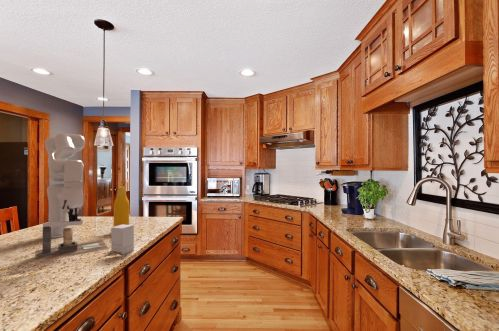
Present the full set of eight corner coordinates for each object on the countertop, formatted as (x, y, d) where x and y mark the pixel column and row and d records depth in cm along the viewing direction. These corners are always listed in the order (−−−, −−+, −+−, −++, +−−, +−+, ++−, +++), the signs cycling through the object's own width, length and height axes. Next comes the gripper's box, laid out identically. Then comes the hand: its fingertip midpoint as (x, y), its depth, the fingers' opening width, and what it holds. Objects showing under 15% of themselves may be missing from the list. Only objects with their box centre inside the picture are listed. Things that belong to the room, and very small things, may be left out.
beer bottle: (129, 229, 167) (129, 186, 167) (129, 232, 158) (129, 187, 159) (113, 230, 163) (114, 186, 163) (112, 233, 154) (113, 187, 155)
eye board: (35, 252, 120) (35, 225, 120) (101, 241, 138) (102, 217, 138) (34, 265, 104) (34, 233, 104) (109, 251, 122) (109, 223, 122)
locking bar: (41, 227, 113) (41, 221, 113) (44, 226, 115) (44, 220, 116) (81, 224, 119) (81, 219, 119) (83, 223, 121) (83, 218, 121)
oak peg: (63, 250, 120) (63, 227, 120) (72, 248, 122) (72, 226, 122) (63, 252, 117) (63, 229, 117) (72, 250, 119) (72, 227, 120)
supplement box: (134, 250, 124) (134, 225, 124) (122, 255, 117) (122, 228, 117) (123, 248, 126) (123, 223, 127) (110, 253, 119) (110, 227, 120)
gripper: (76, 184, 128) (76, 219, 128) (53, 186, 113) (53, 226, 113) (90, 184, 128) (90, 219, 128) (70, 186, 113) (69, 226, 113)
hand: (73, 222), depth 121 cm, fingers closed
